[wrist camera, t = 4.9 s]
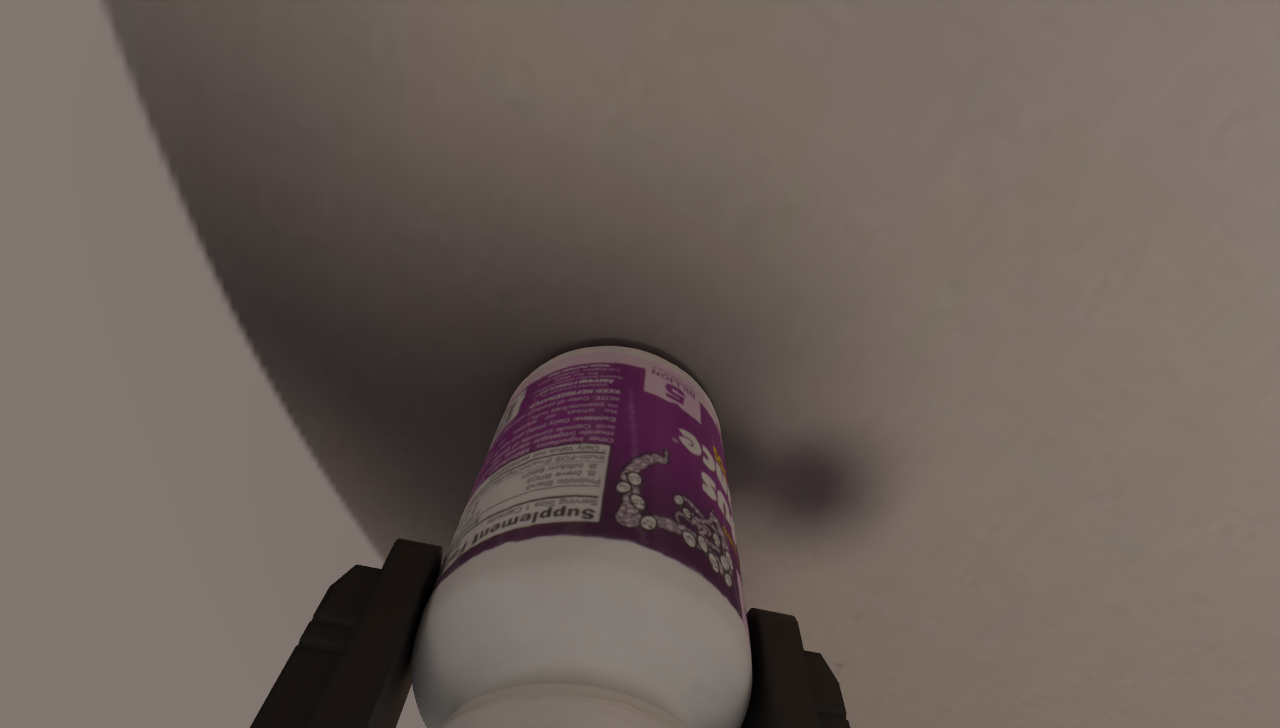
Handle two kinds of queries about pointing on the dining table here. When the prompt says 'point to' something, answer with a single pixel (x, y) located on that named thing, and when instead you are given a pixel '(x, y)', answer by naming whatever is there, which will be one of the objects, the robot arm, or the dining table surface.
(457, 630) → the pill bottle
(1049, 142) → the dining table surface
